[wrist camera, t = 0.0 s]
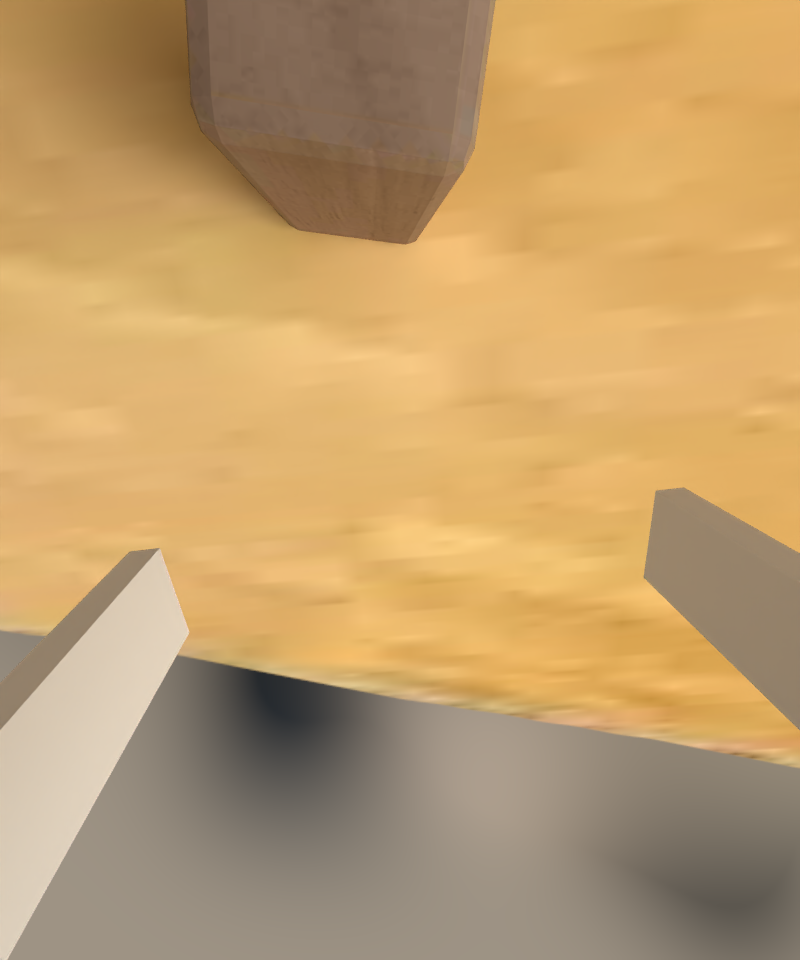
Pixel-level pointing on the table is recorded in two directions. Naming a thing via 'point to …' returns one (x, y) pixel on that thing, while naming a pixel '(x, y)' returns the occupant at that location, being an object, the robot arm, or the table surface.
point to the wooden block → (342, 104)
